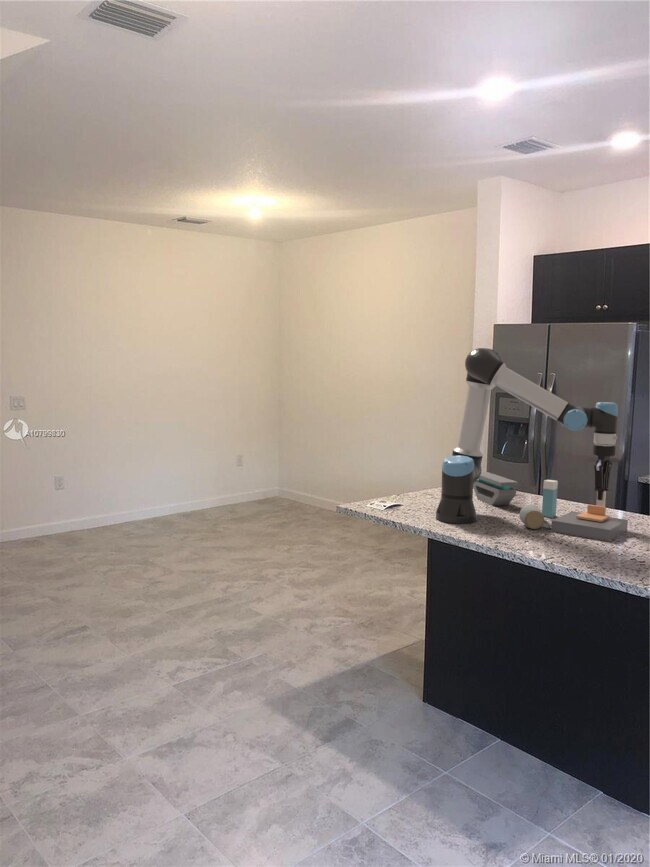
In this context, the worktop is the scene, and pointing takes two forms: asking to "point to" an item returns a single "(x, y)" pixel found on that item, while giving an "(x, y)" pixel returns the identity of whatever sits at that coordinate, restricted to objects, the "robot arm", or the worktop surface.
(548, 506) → the teal plug
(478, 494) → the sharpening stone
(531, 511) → the ceramic mug
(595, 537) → the socket block
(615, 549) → the worktop surface
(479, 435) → the robot arm
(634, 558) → the worktop surface
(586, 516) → the terracotta shutter
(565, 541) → the worktop surface
